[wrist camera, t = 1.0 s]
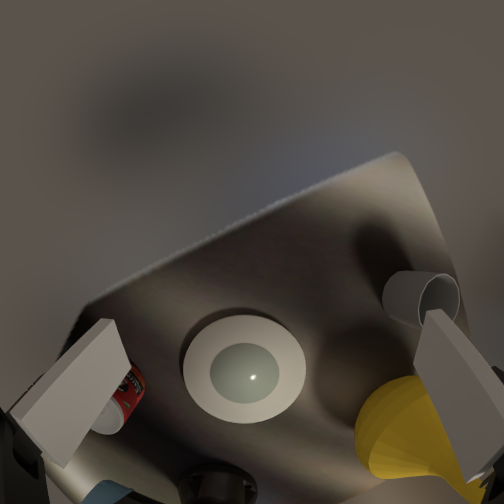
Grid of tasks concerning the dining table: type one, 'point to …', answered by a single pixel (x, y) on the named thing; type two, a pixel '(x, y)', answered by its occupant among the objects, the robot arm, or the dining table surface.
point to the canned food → (120, 403)
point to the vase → (408, 437)
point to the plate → (244, 368)
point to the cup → (419, 296)
